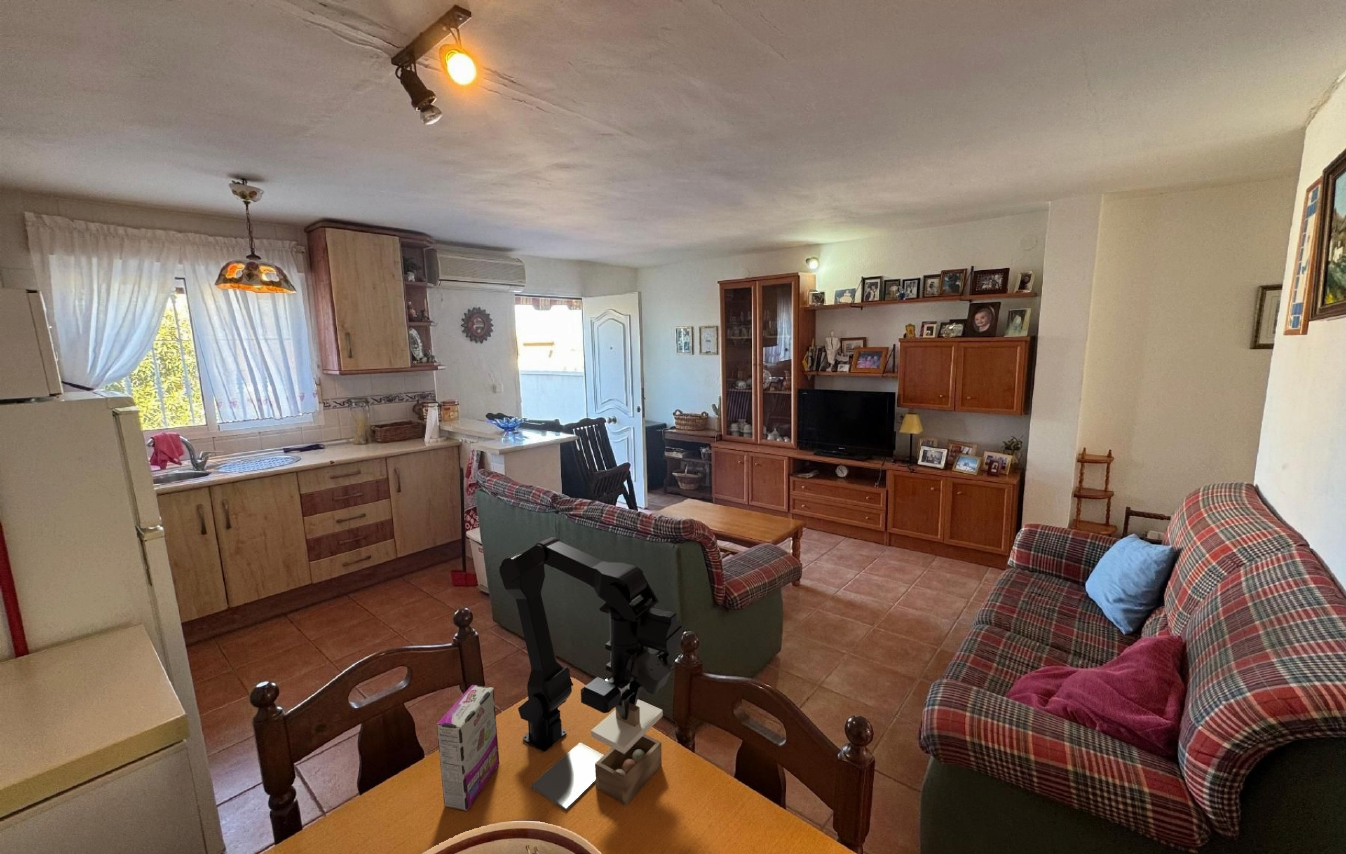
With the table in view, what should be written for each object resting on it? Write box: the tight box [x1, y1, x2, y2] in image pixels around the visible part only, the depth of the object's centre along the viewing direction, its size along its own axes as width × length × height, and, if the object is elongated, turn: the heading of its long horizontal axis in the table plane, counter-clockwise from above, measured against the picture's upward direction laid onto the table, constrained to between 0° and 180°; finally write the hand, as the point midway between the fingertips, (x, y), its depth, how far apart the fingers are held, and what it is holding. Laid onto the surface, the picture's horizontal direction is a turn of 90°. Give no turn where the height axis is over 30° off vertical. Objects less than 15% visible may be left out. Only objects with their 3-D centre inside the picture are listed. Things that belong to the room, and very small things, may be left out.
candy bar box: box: [436, 684, 500, 812], centre depth 98 cm, size 11×5×16 cm, turn 168°
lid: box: [590, 698, 664, 754], centre depth 99 cm, size 12×8×5 cm, turn 146°
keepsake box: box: [595, 733, 663, 806], centre depth 101 cm, size 11×7×5 cm, turn 146°
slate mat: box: [530, 742, 605, 812], centre depth 101 cm, size 9×13×1 cm
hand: (627, 716), depth 99 cm, fingers closed on lid
